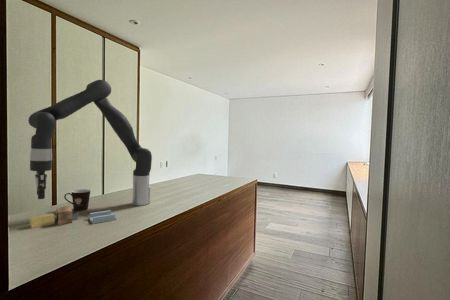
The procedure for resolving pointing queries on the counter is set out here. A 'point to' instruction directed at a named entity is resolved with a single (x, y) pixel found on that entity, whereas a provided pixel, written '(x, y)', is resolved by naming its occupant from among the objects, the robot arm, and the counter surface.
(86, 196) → the coffee mug
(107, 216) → the cradle
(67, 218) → the brown wooden block
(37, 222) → the yellow rectangular block
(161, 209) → the counter surface
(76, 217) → the drift
